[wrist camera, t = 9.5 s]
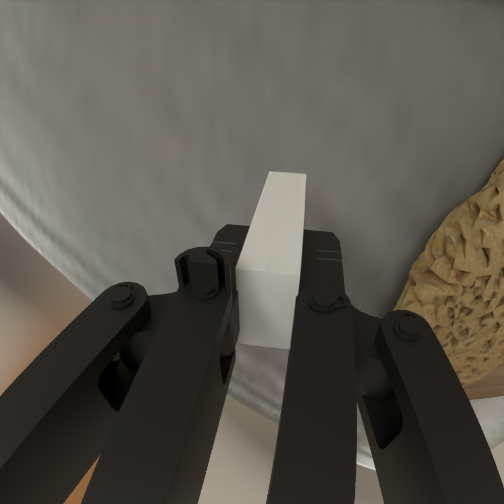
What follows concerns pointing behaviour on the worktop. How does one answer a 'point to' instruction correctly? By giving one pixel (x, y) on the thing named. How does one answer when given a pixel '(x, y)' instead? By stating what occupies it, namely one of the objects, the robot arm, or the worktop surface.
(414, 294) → the sponge
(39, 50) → the worktop surface
